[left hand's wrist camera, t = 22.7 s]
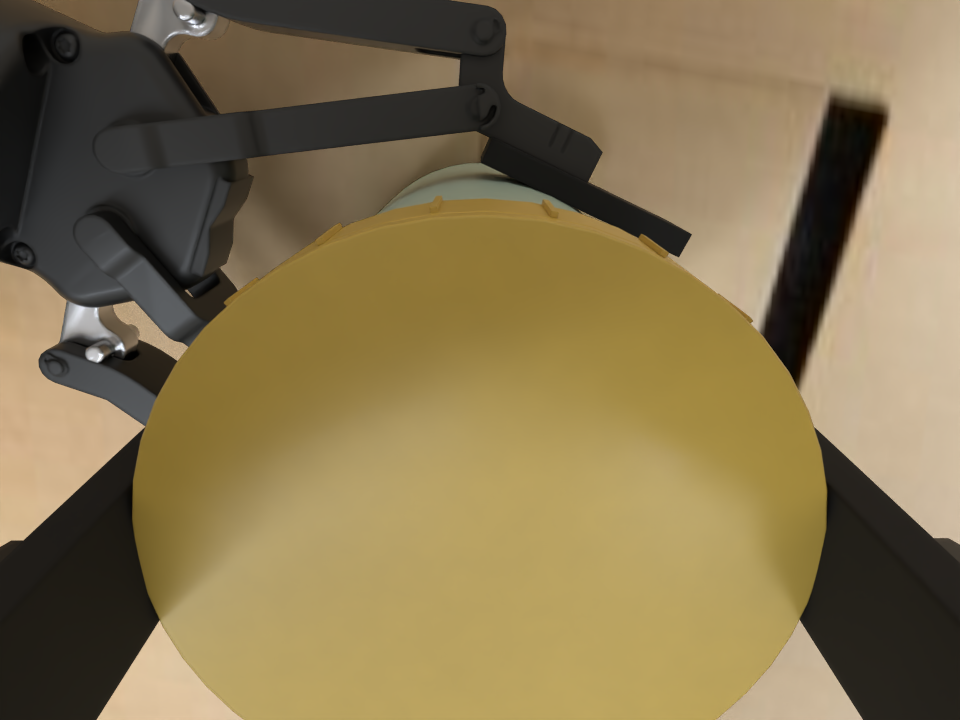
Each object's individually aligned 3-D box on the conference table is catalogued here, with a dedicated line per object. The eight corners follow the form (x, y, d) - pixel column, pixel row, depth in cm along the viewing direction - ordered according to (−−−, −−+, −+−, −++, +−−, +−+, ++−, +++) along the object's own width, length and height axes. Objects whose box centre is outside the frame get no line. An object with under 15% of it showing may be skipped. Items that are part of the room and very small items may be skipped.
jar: (576, 134, 25) (746, 167, 9) (617, 370, 28) (792, 691, 13) (326, 197, 26) (82, 328, 10) (397, 419, 29) (300, 776, 13)
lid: (907, 353, 11) (987, 398, 9) (606, 772, 15) (623, 860, 13) (284, 71, 10) (240, 61, 8) (122, 620, 13) (67, 697, 12)
